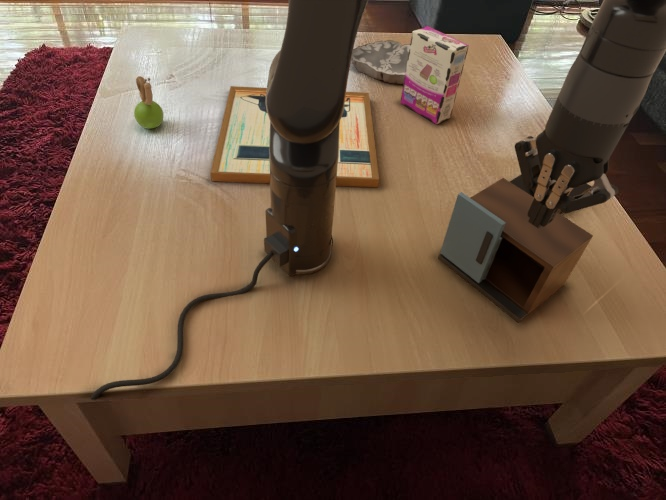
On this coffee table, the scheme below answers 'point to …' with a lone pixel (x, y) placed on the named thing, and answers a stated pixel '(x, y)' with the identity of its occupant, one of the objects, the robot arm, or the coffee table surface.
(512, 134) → the coffee table surface
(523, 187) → the button box
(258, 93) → the picture frame
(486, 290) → the cabinet
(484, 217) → the gray sliding door
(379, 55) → the grey flat irregular slab
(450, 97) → the candy bar box
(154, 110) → the snail figurine
